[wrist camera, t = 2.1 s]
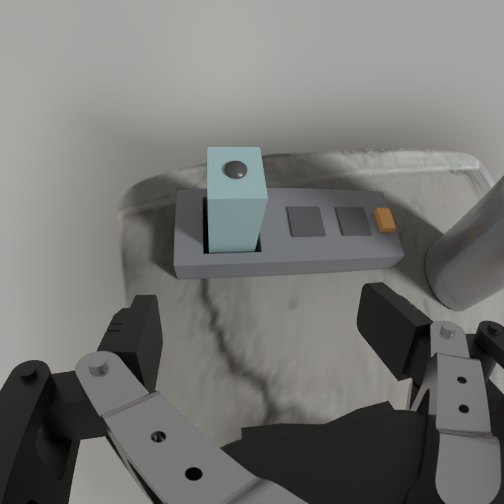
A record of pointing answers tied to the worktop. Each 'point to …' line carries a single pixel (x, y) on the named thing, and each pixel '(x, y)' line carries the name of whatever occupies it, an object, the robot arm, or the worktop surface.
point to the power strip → (293, 235)
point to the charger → (235, 198)
